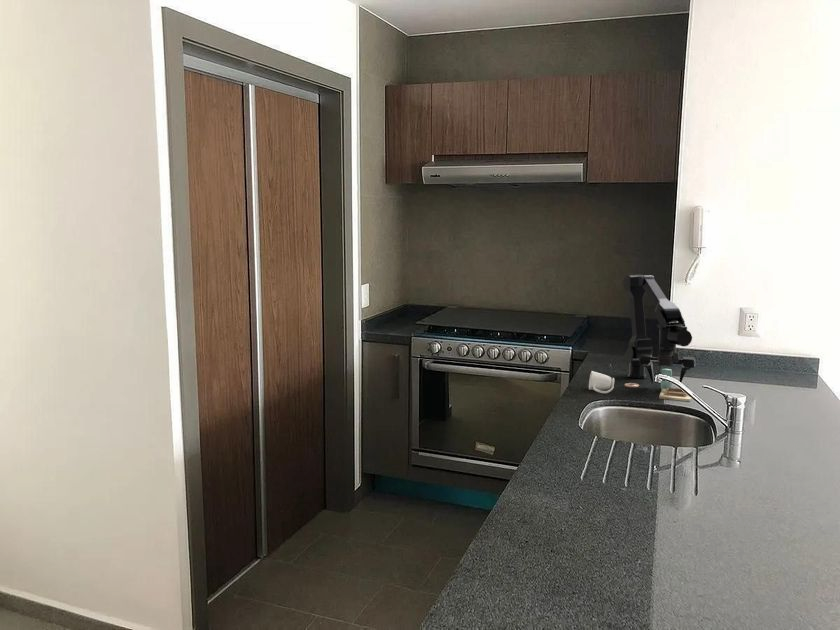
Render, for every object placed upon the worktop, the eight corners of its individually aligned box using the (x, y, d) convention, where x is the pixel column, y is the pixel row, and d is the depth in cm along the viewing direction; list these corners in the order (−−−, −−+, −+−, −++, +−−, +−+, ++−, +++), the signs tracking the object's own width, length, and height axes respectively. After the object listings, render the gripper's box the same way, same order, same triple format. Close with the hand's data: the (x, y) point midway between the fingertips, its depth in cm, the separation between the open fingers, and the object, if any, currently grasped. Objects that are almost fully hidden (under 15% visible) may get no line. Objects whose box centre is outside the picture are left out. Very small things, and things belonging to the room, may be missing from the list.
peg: (661, 387, 255) (661, 368, 254) (671, 388, 254) (672, 369, 253) (660, 389, 252) (660, 370, 251) (670, 390, 251) (671, 371, 250)
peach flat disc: (625, 383, 262) (625, 382, 262) (639, 384, 260) (639, 383, 260) (623, 386, 257) (623, 385, 257) (637, 387, 255) (637, 386, 255)
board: (662, 390, 251) (662, 385, 251) (692, 393, 247) (692, 388, 247) (659, 398, 240) (659, 393, 240) (690, 401, 236) (690, 396, 236)
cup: (614, 370, 254) (592, 366, 255) (616, 385, 245) (592, 382, 246) (610, 386, 257) (588, 382, 258) (612, 402, 249) (588, 398, 250)
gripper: (637, 343, 247) (636, 387, 249) (694, 347, 240) (692, 391, 242) (641, 338, 257) (640, 380, 259) (696, 341, 250) (694, 384, 252)
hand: (666, 384), depth 253 cm, fingers open, 9 cm apart
